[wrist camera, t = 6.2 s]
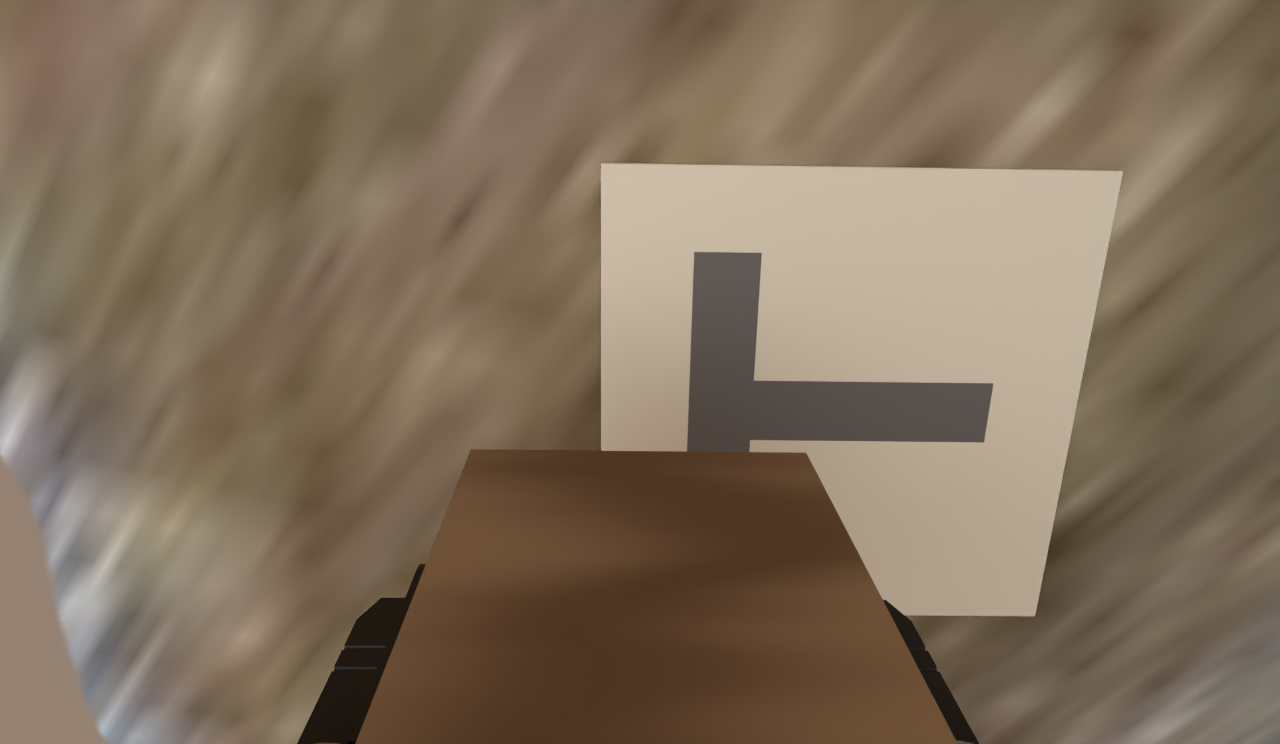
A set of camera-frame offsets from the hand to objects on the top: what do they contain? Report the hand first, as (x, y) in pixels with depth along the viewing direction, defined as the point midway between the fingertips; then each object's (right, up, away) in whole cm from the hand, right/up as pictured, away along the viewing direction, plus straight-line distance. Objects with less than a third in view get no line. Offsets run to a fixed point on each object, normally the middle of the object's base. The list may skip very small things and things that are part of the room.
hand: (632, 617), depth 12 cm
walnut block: (0, 0, +1) cm, 1 cm away
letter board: (+8, +2, +19) cm, 21 cm away
